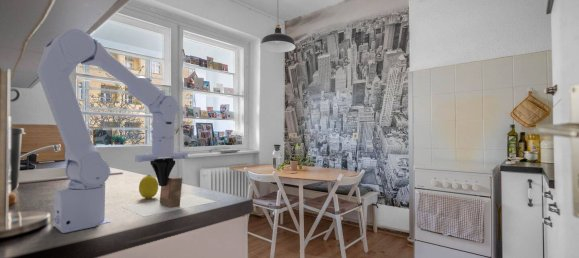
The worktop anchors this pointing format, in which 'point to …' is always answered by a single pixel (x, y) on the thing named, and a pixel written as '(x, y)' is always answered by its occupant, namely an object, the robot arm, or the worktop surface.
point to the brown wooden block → (171, 192)
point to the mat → (158, 208)
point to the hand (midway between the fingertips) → (162, 185)
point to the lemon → (148, 187)
